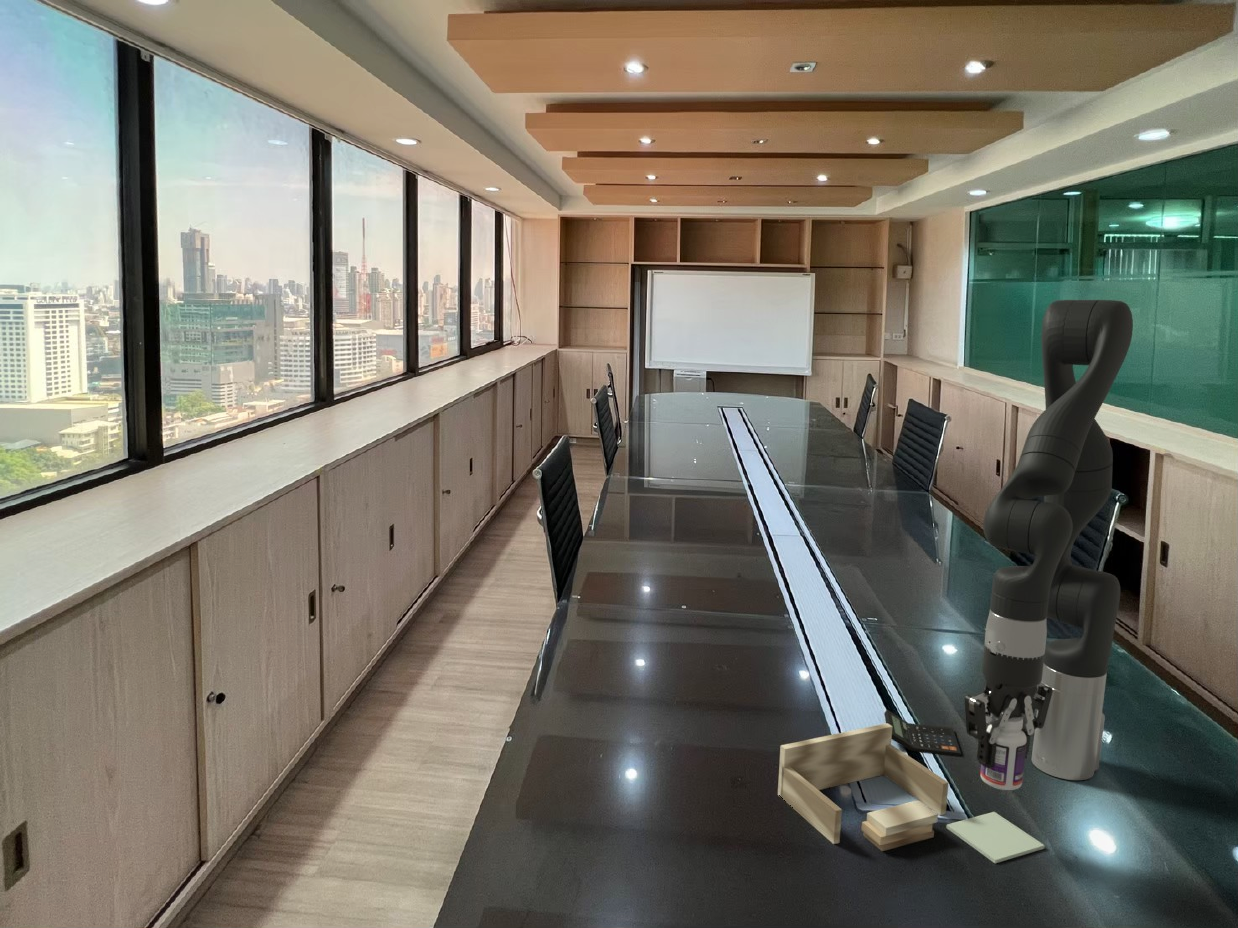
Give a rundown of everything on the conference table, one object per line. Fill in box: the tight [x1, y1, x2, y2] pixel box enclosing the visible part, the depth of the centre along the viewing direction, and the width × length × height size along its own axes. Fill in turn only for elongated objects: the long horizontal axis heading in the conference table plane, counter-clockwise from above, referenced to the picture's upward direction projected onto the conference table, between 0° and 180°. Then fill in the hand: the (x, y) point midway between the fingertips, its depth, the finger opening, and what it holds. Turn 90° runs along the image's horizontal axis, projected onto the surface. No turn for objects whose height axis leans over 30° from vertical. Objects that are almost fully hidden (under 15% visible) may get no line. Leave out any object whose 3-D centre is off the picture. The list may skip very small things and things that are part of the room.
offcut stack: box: [860, 799, 939, 852], centre depth 129 cm, size 10×4×4 cm, turn 114°
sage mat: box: [945, 811, 1045, 864], centre depth 129 cm, size 9×9×1 cm
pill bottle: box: [980, 713, 1027, 791], centre depth 127 cm, size 5×5×10 cm
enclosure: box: [777, 722, 950, 845], centre depth 136 cm, size 20×14×8 cm
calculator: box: [883, 709, 962, 757], centre depth 158 cm, size 9×12×3 cm
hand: (1002, 760), depth 127 cm, fingers closed on pill bottle, 5 cm apart
